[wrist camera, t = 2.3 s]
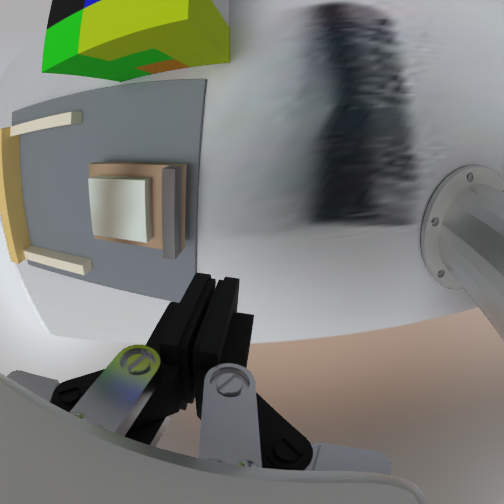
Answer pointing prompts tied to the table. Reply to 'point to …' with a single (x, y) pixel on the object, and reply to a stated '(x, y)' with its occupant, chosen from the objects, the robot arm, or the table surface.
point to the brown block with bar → (139, 204)
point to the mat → (77, 187)
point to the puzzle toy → (135, 37)
